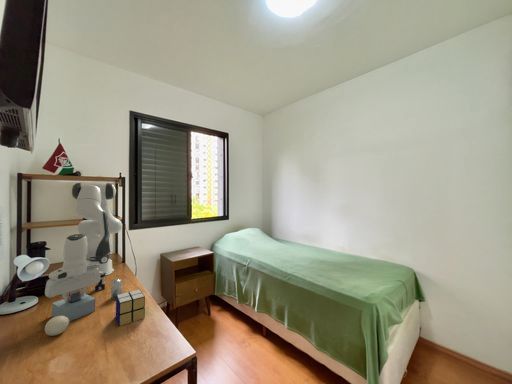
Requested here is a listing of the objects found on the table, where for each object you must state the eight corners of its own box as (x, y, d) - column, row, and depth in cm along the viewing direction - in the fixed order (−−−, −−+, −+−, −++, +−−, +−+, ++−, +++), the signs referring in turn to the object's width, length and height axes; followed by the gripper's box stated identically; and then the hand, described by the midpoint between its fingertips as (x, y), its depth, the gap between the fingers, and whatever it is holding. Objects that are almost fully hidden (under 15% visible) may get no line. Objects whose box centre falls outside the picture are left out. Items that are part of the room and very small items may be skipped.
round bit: (109, 297, 116) (109, 281, 116) (118, 294, 120) (119, 278, 120) (114, 299, 113) (114, 282, 114) (123, 296, 118) (123, 279, 118)
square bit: (68, 312, 100) (69, 292, 100) (76, 308, 102) (77, 290, 103) (71, 313, 98) (72, 294, 98) (79, 310, 101) (80, 291, 101)
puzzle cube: (115, 316, 98) (116, 294, 98) (139, 309, 104) (140, 288, 105) (118, 327, 90) (119, 303, 90) (144, 318, 97) (145, 296, 97)
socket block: (51, 316, 98) (52, 302, 98) (83, 304, 108) (83, 292, 108) (63, 323, 92) (63, 309, 92) (95, 310, 102) (95, 298, 103)
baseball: (73, 330, 88) (73, 313, 88) (51, 341, 81) (51, 323, 81) (62, 326, 90) (63, 310, 90) (40, 337, 83) (41, 319, 83)
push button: (91, 292, 122) (91, 275, 122) (91, 289, 126) (92, 272, 126) (105, 289, 126) (105, 272, 126) (105, 286, 130) (105, 270, 130)
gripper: (96, 262, 111) (96, 289, 111) (43, 275, 93) (42, 306, 93) (103, 264, 108) (102, 292, 108) (49, 277, 90) (48, 310, 90)
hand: (74, 299), depth 100 cm, fingers open, 4 cm apart
